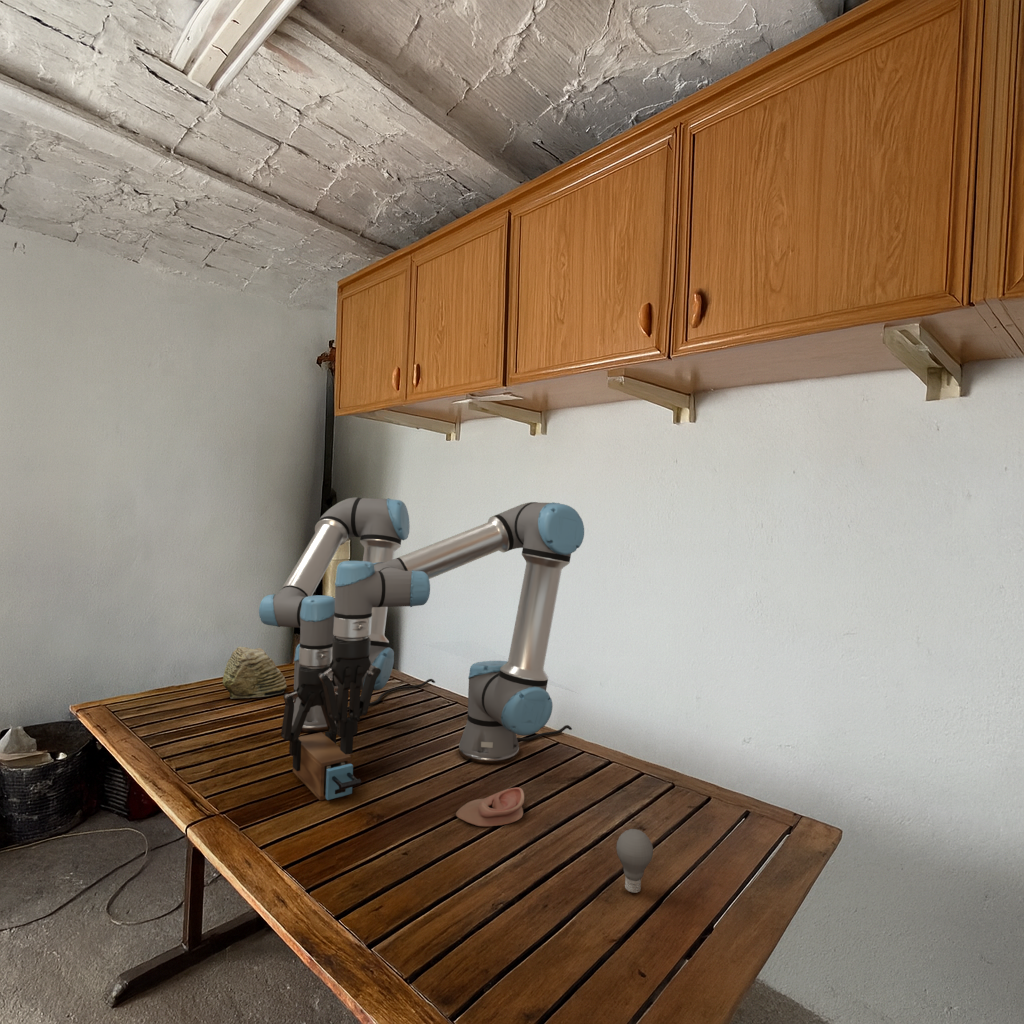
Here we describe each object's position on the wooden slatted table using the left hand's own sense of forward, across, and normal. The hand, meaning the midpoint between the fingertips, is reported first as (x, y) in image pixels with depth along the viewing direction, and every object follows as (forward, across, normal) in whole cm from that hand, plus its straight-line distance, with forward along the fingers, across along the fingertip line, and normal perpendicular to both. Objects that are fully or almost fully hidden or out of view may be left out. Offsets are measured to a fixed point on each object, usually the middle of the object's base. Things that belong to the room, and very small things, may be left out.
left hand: (312, 764), depth 144 cm
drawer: (+1, 0, -11) cm, 11 cm away
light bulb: (+2, +28, -71) cm, 77 cm away
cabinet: (+2, 0, -5) cm, 5 cm away
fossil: (+2, +6, +64) cm, 64 cm away
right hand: (-9, 0, -18) cm, 21 cm away
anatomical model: (+2, +23, -37) cm, 44 cm away
